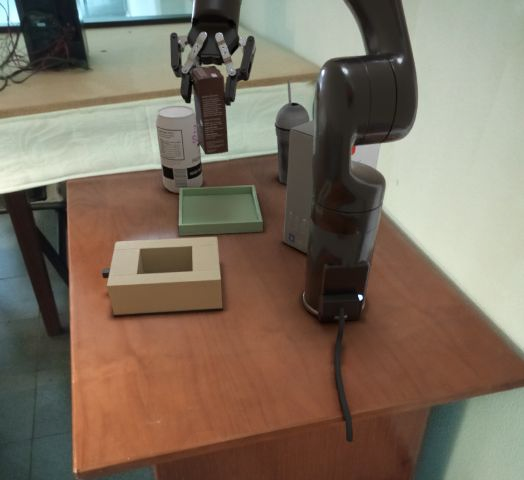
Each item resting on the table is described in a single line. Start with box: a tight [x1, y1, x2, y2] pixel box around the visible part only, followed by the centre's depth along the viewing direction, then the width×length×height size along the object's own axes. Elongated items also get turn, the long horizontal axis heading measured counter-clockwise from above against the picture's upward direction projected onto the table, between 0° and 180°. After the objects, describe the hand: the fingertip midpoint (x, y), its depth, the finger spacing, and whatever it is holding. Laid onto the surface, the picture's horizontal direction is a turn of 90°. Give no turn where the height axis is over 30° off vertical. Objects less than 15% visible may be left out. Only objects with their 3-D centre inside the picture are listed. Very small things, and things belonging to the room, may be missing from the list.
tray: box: [178, 184, 264, 237], centre depth 95 cm, size 15×15×2 cm
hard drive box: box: [282, 119, 382, 255], centre depth 84 cm, size 16×8×20 cm, turn 136°
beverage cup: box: [274, 77, 311, 185], centre depth 101 cm, size 7×7×20 cm
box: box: [191, 65, 229, 156], centre depth 82 cm, size 6×4×12 cm
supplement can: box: [154, 105, 204, 194], centre depth 100 cm, size 8×8×15 cm
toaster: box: [101, 236, 224, 318], centre depth 76 cm, size 12×18×6 cm
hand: (207, 101), depth 79 cm, fingers closed on box, 6 cm apart
